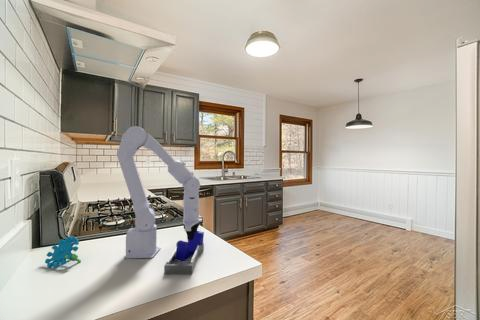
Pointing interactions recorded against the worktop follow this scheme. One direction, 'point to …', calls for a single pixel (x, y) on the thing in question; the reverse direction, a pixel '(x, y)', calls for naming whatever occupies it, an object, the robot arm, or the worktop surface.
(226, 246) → the worktop surface
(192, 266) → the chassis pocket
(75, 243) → the blue knobby toy
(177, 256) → the cable clip
